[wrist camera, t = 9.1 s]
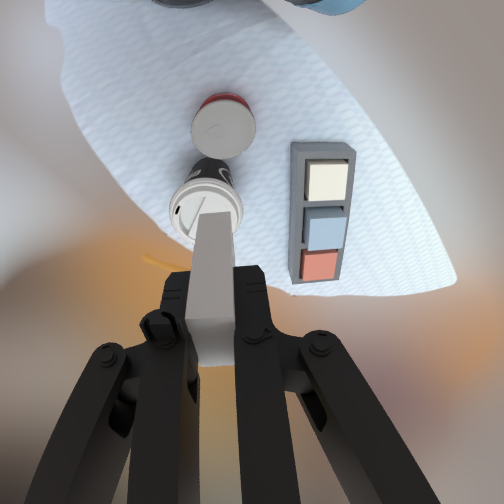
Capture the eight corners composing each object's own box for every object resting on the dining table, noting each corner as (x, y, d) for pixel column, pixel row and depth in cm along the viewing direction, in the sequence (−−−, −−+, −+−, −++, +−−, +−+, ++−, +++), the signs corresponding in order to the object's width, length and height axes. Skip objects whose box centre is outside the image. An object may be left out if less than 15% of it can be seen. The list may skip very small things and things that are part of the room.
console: (290, 142, 46) (297, 151, 42) (345, 142, 46) (356, 151, 42) (288, 268, 61) (292, 284, 57) (331, 264, 61) (338, 279, 57)
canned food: (188, 113, 42) (177, 127, 33) (230, 81, 39) (230, 86, 31) (219, 148, 46) (216, 172, 37) (260, 119, 43) (268, 135, 34)
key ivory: (304, 156, 45) (310, 164, 42) (339, 156, 45) (348, 164, 42) (302, 190, 49) (308, 201, 45) (336, 189, 49) (344, 199, 46)
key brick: (300, 242, 55) (305, 255, 52) (331, 240, 55) (337, 252, 52) (298, 267, 58) (302, 281, 55) (328, 265, 59) (333, 278, 55)
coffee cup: (211, 136, 44) (205, 168, 32) (251, 177, 49) (260, 221, 37) (170, 175, 48) (151, 219, 36) (210, 211, 52) (205, 264, 40)
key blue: (304, 207, 49) (310, 219, 45) (339, 205, 49) (346, 217, 46) (303, 237, 52) (308, 250, 49) (335, 235, 52) (342, 248, 49)
